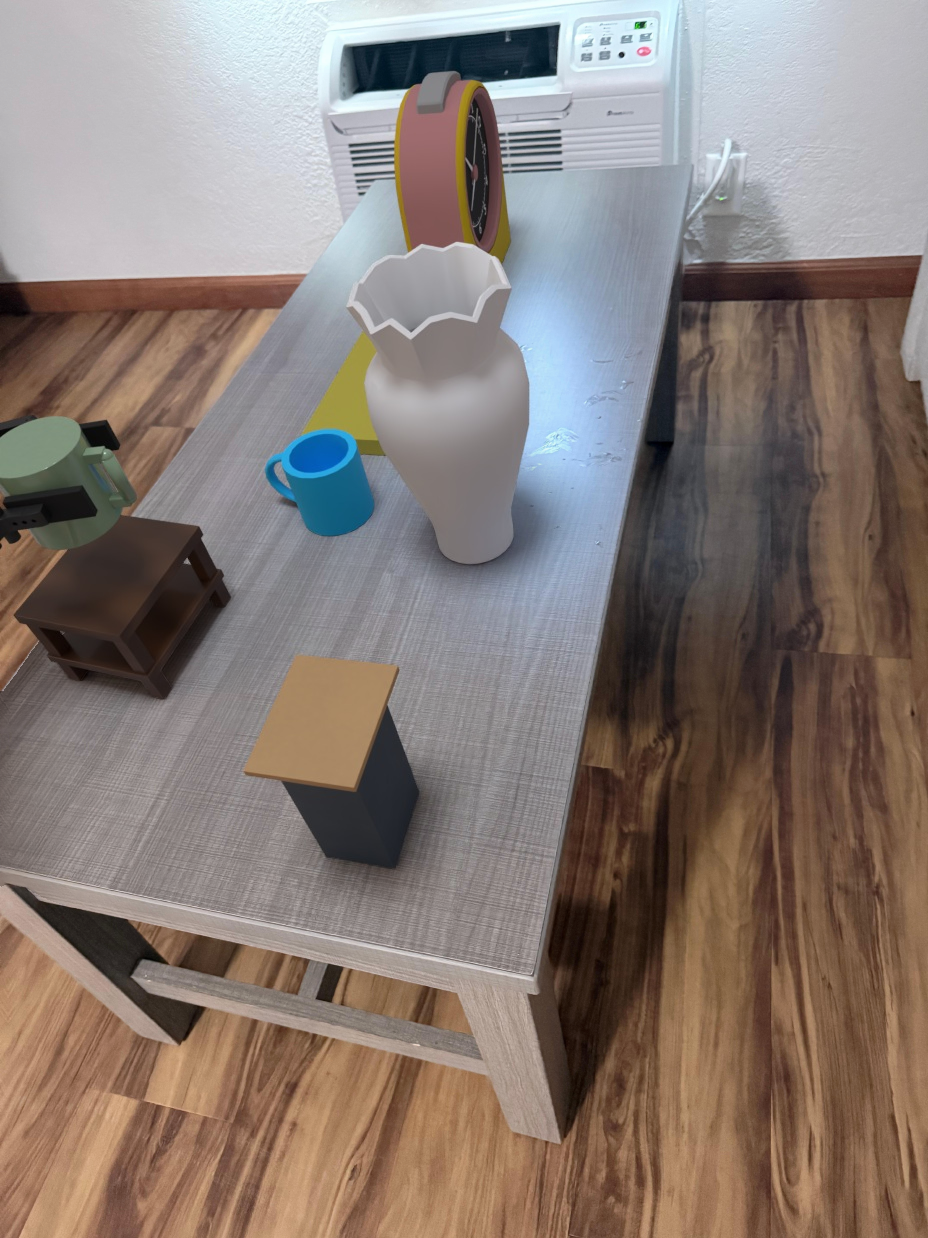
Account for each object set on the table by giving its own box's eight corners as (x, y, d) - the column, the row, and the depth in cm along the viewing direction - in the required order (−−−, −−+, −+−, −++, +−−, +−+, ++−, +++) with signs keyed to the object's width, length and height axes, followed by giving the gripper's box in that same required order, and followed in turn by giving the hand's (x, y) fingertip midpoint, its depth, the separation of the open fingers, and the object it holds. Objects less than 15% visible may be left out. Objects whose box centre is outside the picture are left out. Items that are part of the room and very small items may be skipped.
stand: (402, 889, 68) (354, 787, 57) (307, 872, 70) (242, 771, 59) (435, 777, 74) (398, 665, 63) (347, 765, 77) (296, 654, 65)
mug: (385, 491, 100) (369, 432, 94) (355, 540, 95) (336, 482, 89) (294, 478, 104) (272, 421, 98) (261, 525, 99) (236, 469, 93)
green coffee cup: (20, 554, 76) (-32, 482, 70) (51, 492, 81) (5, 421, 75) (132, 543, 74) (88, 469, 69) (156, 481, 80) (117, 408, 74)
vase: (422, 490, 99) (361, 238, 77) (553, 491, 96) (527, 228, 74) (393, 587, 90) (314, 332, 68) (536, 591, 86) (501, 324, 65)
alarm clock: (481, 314, 121) (451, 107, 102) (418, 315, 124) (377, 112, 104) (511, 239, 134) (490, 42, 115) (454, 240, 137) (423, 48, 117)
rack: (165, 702, 84) (119, 635, 77) (65, 680, 88) (12, 614, 81) (234, 595, 92) (199, 525, 85) (140, 579, 96) (99, 511, 89)
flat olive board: (398, 456, 104) (453, 340, 118) (394, 441, 102) (451, 326, 117) (305, 450, 107) (369, 339, 122) (300, 436, 105) (366, 325, 120)
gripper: (-82, 463, 85) (144, 427, 84) (-175, 625, 72) (93, 587, 70) (-132, 398, 80) (108, 358, 78) (-244, 560, 66) (45, 516, 64)
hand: (101, 466), depth 74 cm, fingers closed on green coffee cup, 8 cm apart
